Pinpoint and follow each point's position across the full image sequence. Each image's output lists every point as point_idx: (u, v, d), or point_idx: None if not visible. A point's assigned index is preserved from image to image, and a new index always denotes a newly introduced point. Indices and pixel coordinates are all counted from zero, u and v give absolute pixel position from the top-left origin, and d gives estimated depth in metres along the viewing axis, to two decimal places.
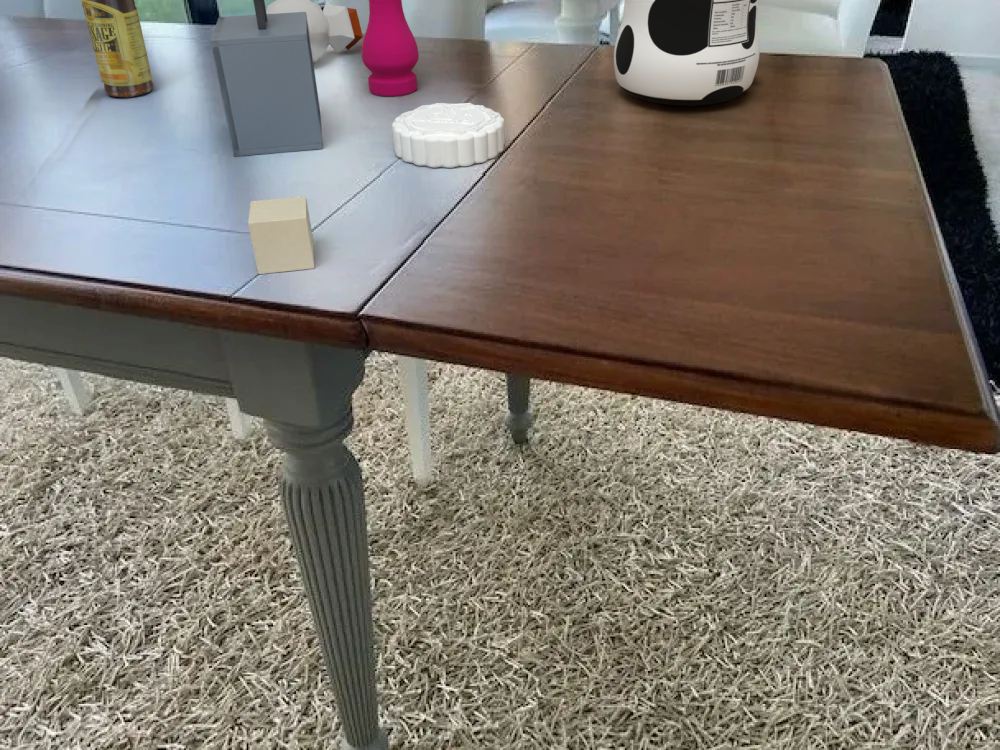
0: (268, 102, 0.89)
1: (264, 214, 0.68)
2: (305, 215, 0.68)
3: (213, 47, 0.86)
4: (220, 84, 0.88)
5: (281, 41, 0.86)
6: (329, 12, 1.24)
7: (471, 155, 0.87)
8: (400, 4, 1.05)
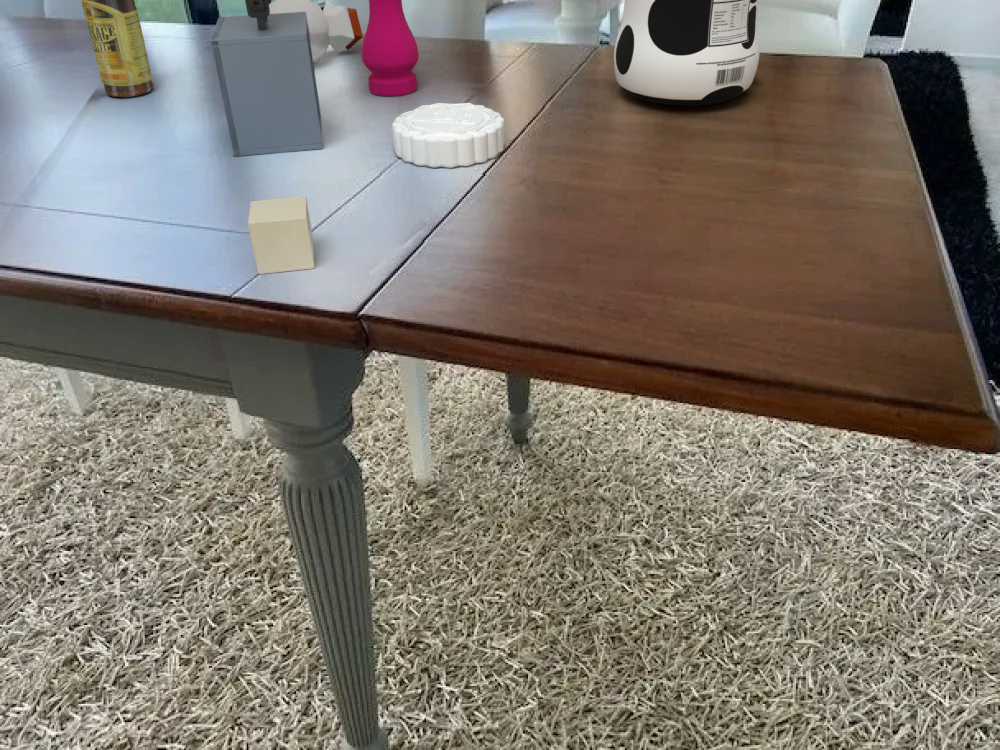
0: (268, 102, 0.89)
1: (264, 214, 0.68)
2: (305, 215, 0.68)
3: (213, 47, 0.86)
4: (220, 84, 0.88)
5: (281, 41, 0.86)
6: (329, 12, 1.24)
7: (471, 155, 0.87)
8: (400, 4, 1.05)
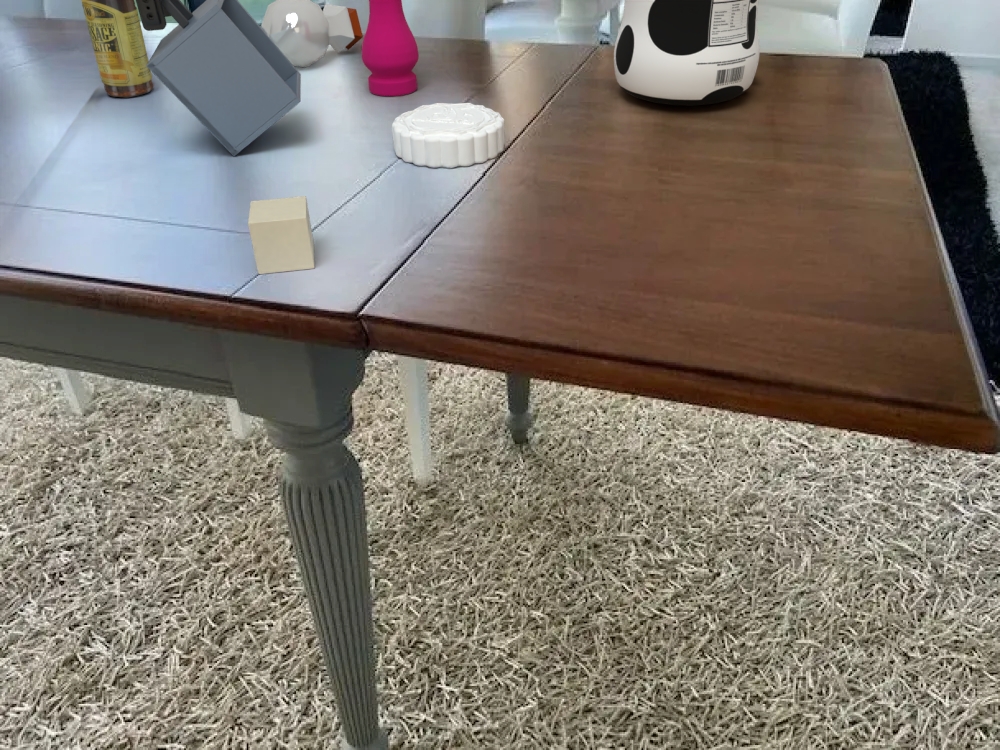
0: (228, 89, 0.88)
1: (264, 214, 0.68)
2: (305, 215, 0.68)
3: (152, 70, 0.86)
4: (180, 99, 0.88)
5: (201, 26, 0.84)
6: (329, 12, 1.24)
7: (471, 155, 0.87)
8: (400, 4, 1.05)
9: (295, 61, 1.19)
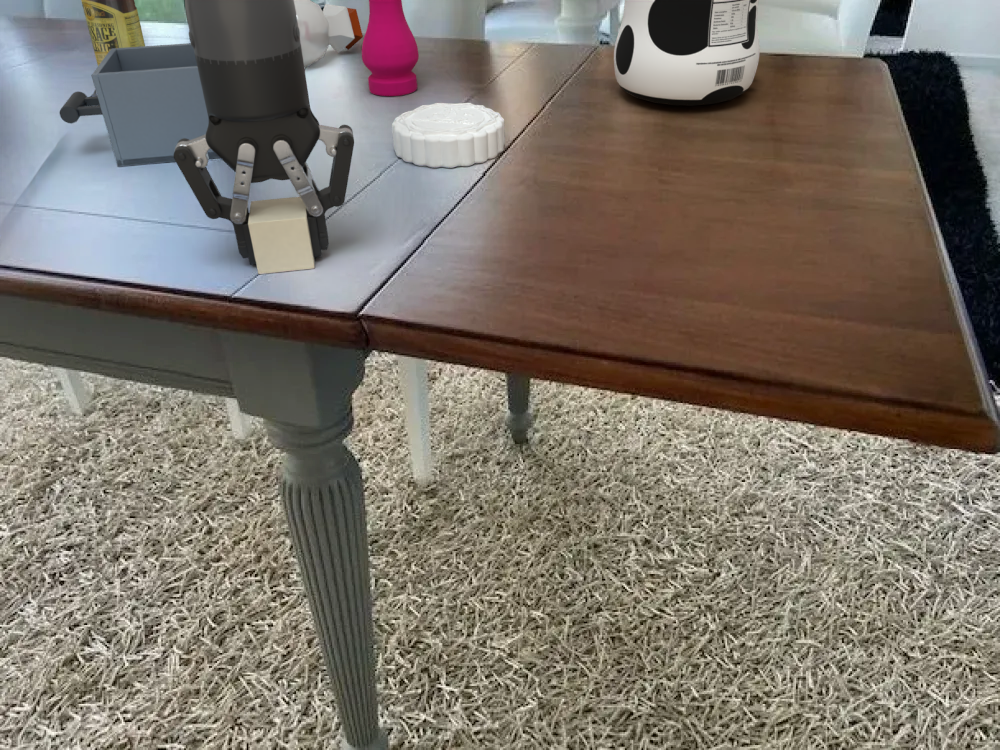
0: (171, 118, 0.88)
1: (264, 214, 0.68)
2: (305, 215, 0.68)
3: (124, 164, 0.90)
4: (159, 161, 0.91)
5: (104, 100, 0.86)
6: (329, 12, 1.24)
7: (471, 155, 0.87)
8: (400, 4, 1.05)
9: None
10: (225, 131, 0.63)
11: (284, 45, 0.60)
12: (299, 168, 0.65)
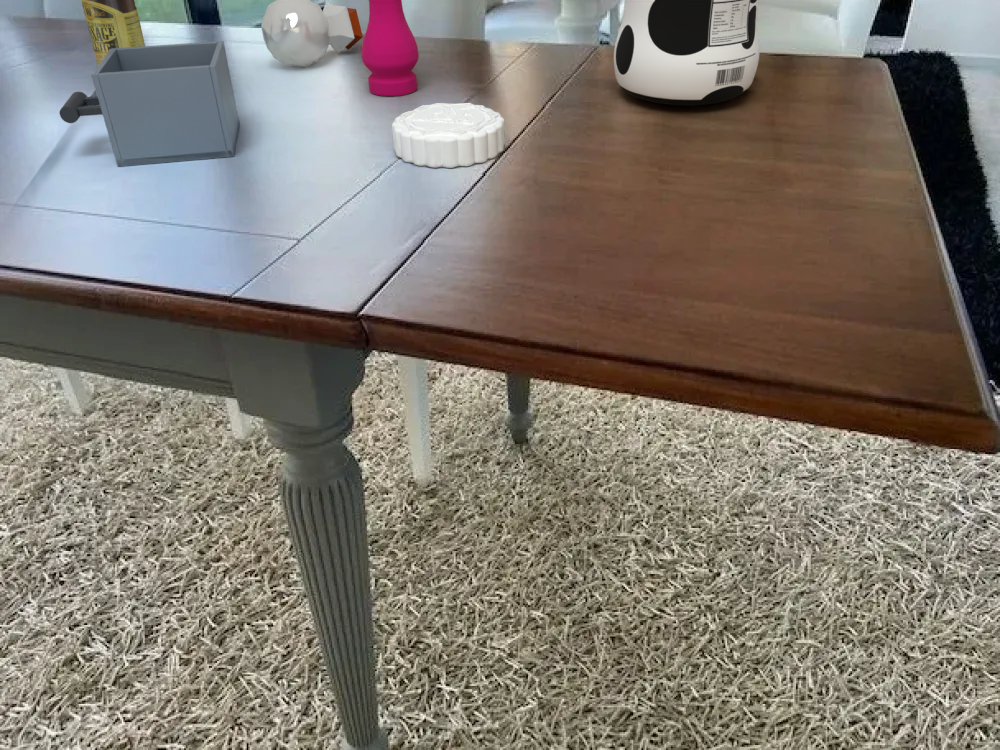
0: (171, 118, 0.88)
1: None
2: None
3: (124, 164, 0.90)
4: (159, 161, 0.91)
5: (104, 100, 0.86)
6: (328, 12, 1.24)
7: (471, 155, 0.87)
8: (400, 4, 1.05)
9: (295, 61, 1.19)
10: None
11: None
12: None
